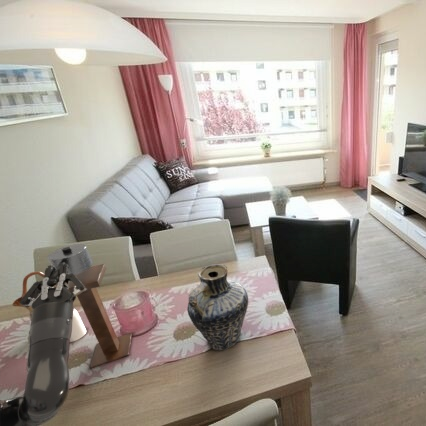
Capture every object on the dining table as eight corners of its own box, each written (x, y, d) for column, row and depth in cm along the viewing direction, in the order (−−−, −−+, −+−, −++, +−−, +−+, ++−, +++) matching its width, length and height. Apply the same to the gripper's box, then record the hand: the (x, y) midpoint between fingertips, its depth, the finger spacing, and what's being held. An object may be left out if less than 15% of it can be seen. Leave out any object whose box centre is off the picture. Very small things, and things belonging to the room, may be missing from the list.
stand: (91, 370, 97) (52, 292, 84) (98, 346, 106) (63, 273, 93) (129, 357, 101) (97, 281, 88) (132, 335, 110) (104, 263, 98)
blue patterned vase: (217, 317, 117) (201, 252, 105) (262, 323, 113) (251, 256, 101) (185, 361, 98) (162, 288, 87) (238, 369, 94) (221, 295, 83)
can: (83, 328, 115) (72, 304, 110) (90, 335, 111) (78, 310, 107) (63, 339, 110) (50, 314, 105) (69, 346, 107) (56, 321, 102)
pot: (35, 304, 73) (23, 281, 71) (61, 265, 91) (52, 245, 88) (78, 293, 77) (68, 271, 74) (95, 257, 94) (88, 238, 91)
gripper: (24, 341, 70) (33, 279, 79) (92, 321, 75) (94, 265, 85) (3, 331, 64) (16, 265, 74) (79, 310, 70) (82, 251, 79)
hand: (58, 265), depth 79 cm, fingers closed on pot
